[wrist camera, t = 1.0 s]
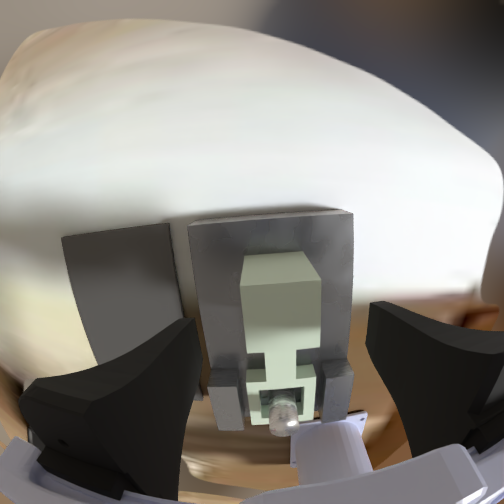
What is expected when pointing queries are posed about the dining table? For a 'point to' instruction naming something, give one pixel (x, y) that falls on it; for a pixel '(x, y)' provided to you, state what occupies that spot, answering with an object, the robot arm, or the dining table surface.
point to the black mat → (124, 287)
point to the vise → (231, 316)
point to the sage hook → (280, 326)
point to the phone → (35, 439)
